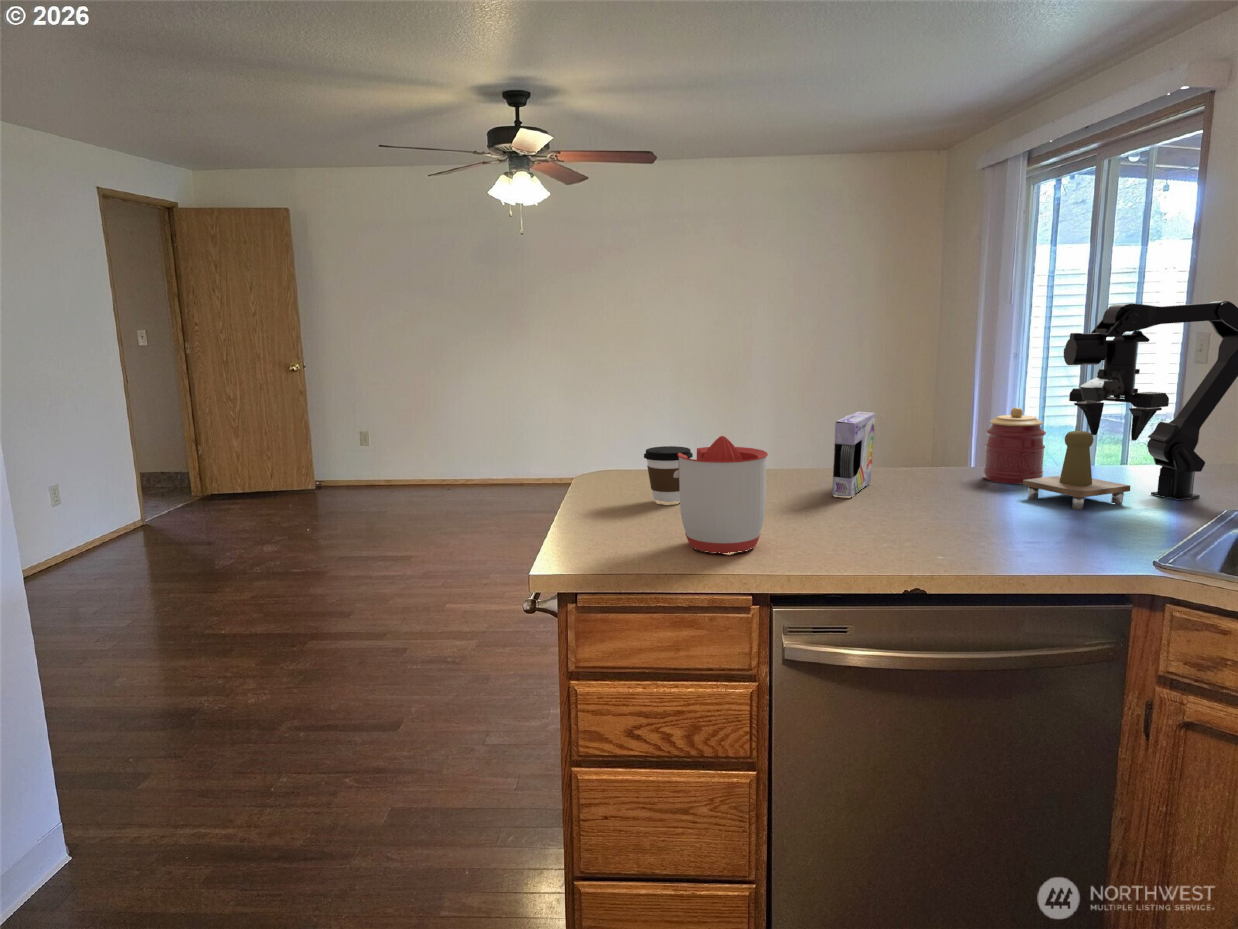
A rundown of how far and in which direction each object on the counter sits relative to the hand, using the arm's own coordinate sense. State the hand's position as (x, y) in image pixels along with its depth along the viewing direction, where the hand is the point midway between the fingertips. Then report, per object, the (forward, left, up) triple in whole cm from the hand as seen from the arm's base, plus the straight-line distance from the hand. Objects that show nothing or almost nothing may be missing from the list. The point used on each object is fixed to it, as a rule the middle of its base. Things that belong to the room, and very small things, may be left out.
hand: (1113, 437), depth 168 cm
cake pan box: (+45, -29, -13) cm, 55 cm away
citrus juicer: (+94, -1, -13) cm, 95 cm away
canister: (+3, -23, -13) cm, 27 cm away
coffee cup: (+88, -37, -13) cm, 96 cm away
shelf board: (+10, 0, -10) cm, 14 cm away
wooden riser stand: (+10, 0, -13) cm, 16 cm away
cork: (+10, 0, -9) cm, 13 cm away
